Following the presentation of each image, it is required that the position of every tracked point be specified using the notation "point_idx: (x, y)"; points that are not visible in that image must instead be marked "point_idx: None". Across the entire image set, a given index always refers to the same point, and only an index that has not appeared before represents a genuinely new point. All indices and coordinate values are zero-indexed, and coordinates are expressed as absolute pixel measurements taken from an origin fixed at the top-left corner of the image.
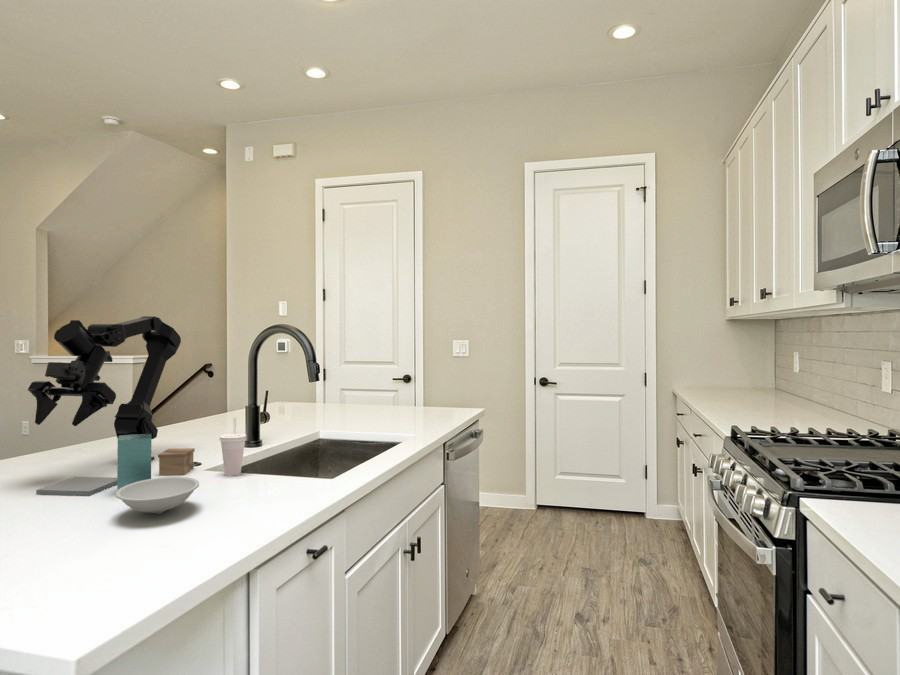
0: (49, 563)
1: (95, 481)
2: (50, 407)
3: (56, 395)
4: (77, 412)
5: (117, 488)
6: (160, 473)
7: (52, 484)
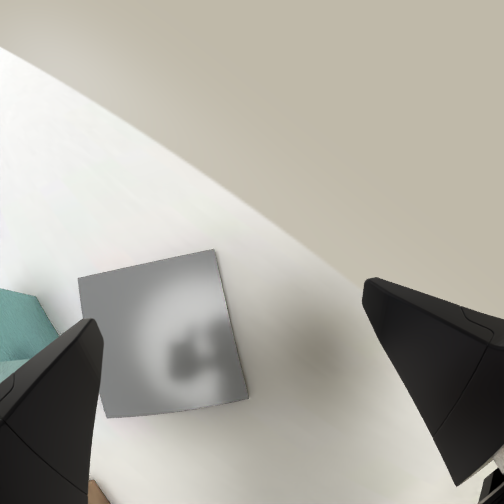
0: (5, 82)
1: (139, 368)
2: (445, 421)
3: (491, 493)
4: (47, 359)
5: (25, 294)
6: (90, 482)
7: (225, 307)
